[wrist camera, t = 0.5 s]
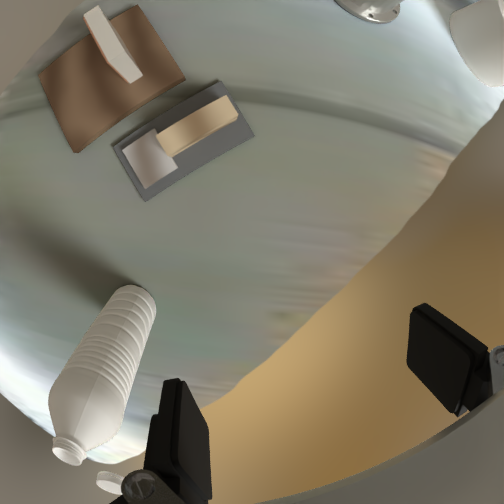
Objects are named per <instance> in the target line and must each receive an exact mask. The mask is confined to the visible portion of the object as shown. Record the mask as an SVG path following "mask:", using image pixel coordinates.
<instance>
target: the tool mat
mask: <svg viewBox="0 0 504 504" xmlns="http://www.w3.org/2000/svg"><path fill="white" fill-rule="evenodd" d="M225 95H227V97H228V98H229V100H230V102H231V103H232V105H233V106H234V108H235V110H236V111H237V113H238V117H237V119H236V121H234V122H232V123H230V124H229V125H227V126H225V127H223V128H221V129H219V130H218V131H216V132H214V133H212V134H210V135H209V136H207V137H205V138H203V139H202V140H200V141H198V142H197V143H195V144H193V145H192V146H190V147H188V148H187V149H185V150H183V151H182V152H180V153H178V154H177V155H175V156H174V157H172V158H173V160H174V161H175V163H176V165H177V166H178V168H177V169H176V170H174V171H172V172H171V173H169V174H168V175H166V176H165V177H163V178H162V179H160V180H158V181H157V182H155V183H154V184H152V185H151V186H149V187H148V188H146V189H145V188H144V187H143V185H142V183H141V182H140V180H139V178H138V177H137V175H136V173H135V172H134V170H133V168H132V166H131V165H130V163H129V161H128V159H127V158H126V156H125V154H124V153H123V151H122V150H123V149H125V148H126V147H127V146H129V145H130V144H132V143H133V142H135V141H136V140H137V139H139V138H140V137H142V136H143V135H145V134H146V133H148V132H149V131H151V130H153V129H156V131H157V133H158V134H159V133H160V132H162V131H163V130H165V129H167V128H168V127H170V126H172V125H173V124H175V123H176V122H178V121H180V120H181V119H183V118H185V117H187V116H188V115H190V114H192V113H194V112H195V111H197V110H199V109H201V108H202V107H204V106H206V105H208V104H210V103H212V102H214V101H215V100H217V99H219V98H221V97H223V96H225ZM254 136H255V135H254V134H253V132H252V130H251V128H250V127H249V125H248V123H247V122H246V120H245V118H244V117H243V115H242V113H241V112H240V110H239V108H238V107H237V105H236V103H235V102H234V100H233V99H232V97H231V95H230V94H229V92H228V91H227V89H226V87H225V86H224V84H223V83H222V81H220V82H218V83H216V84H214V85H212V86H210V87H208V88H206V89H204V90H203V91H201V92H199V93H197V94H195V95H193V96H192V97H190V98H188V99H186V100H184V101H183V102H181V103H179V104H178V105H176V106H174V107H172V108H171V109H169V110H167V111H166V112H164V113H163V114H161V115H159V116H158V117H156V118H155V119H153V120H151V121H150V122H148V123H147V124H145V125H144V126H142V127H141V128H139V129H138V130H136V131H135V132H133V133H132V134H130V135H129V136H128V137H126V138H125V139H123V140H122V141H121V142H119V143H118V144H116V145H115V146H114V147H113V148H114V150H115V152H116V154H117V155H118V157H119V159H120V161H121V162H122V164H123V166H124V168H125V169H126V171H127V173H128V174H129V176H130V178H131V180H132V181H133V183H134V185H135V186H136V188H137V190H138V191H139V193H140V195H141V196H142V198H143V200H144V201H145V202H146V201H147V200H149V199H150V198H152V197H153V196H155V195H156V194H158V193H159V192H161V191H163V190H164V189H166V188H167V187H169V186H170V185H172V184H173V183H175V182H177V181H178V180H180V179H181V178H183V177H185V176H186V175H188V174H189V173H191V172H193V171H194V170H196V169H198V168H199V167H201V166H203V165H204V164H206V163H208V162H209V161H211V160H213V159H214V158H216V157H218V156H220V155H221V154H223V153H225V152H227V151H228V150H230V149H232V148H234V147H236V146H237V145H239V144H241V143H243V142H245V141H247V140H248V139H250V138H252V137H254Z"/></svg>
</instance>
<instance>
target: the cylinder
mask: <svg viewBox="0 0 504 504" xmlns="http://www.w3.org/2000/svg"><path fill="white" fill-rule="evenodd" d="M449 24H450V31H451V34H452V38H453V41H454V43H455V45H456V48H457V50H458V52H459V54H460V55H461V57H462V59H463V61H464V63H465V64H466V65H467V67H468V68H469V70H470V71H471V72H472V73H473V75H474V76H475V77H476V78H477V79H478V80H479V81H480V82H482V83H483V84H484V85H486V86H489V87H499V86H504V0H481V1H478V2H476V3H473V4H471V5H469V6H466V7H464V8H462V9H459V10H457V11H455V12H453V13H452V14H451V16H450V21H449Z"/></svg>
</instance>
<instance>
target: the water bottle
mask: <svg viewBox="0 0 504 504" xmlns="http://www.w3.org/2000/svg"><path fill="white" fill-rule="evenodd" d="M155 315H156V305H155V302H154V300H153V298H152V297H151V296H150V294H149V293H148V292H147V291H146V290H144V289H143V288H141V287H137V286H135V285H126V286H122V287H120V288H119V289H117V290H116V291H115V292H114V294H113V295H112V296H111V298H110V299H109V301H108V302H107V303H106V305H105V307H104V308H103V309H102V310H101V312H100V314H99V315H98V316H97V317H96V319H95V321H94V322H93V323H92V325H91V326H90V328H89V329H88V331H87V332H86V333H85V335H84V336H83V338H82V340H81V342H80V343H79V345H78V346H77V348H76V349H75V351H74V353H73V354H72V355H71V357H70V359H69V360H68V362H67V363H66V365H65V367H64V368H63V370H62V371H61V374H60V375H59V376H58V378H57V379H56V381H55V382H54V384H53V386H52V388H51V390H50V393H49V399H48V405H49V411H50V415H51V419H52V423H53V426H54V430H55V433H56V437H54V438H53V443H54V445H53V447H52V450H53V452H54V454H55V455H56V456H57V457H58V458H59V459H61V460H62V461H64V462H66V463H68V464H70V465H75V466H78V465H80V464H81V463H82V460H83V459H85V458H86V457H87V454H86V452H87V451H89V450H92V449H94V448H96V447H98V446H100V445H102V444H104V443H106V442H108V441H109V440H111V439H112V438H113V437H114V436H115V435H116V434H117V432H118V431H119V429H120V427H121V424H122V421H123V416H124V412H125V408H126V405H127V401H128V397H129V394H130V391H131V388H132V384H133V381H134V378H135V374H136V372H137V369H138V366H139V363H140V359H141V357H142V354H143V350H144V348H145V344H146V341H147V339H148V335H149V332H150V330H151V327H152V324H153V322H154V319H155ZM107 474H109V475H107ZM111 475H113V476H111ZM114 476H116V477H114ZM117 477H118V478H117ZM119 478H120V479H119ZM121 479H122V480H121ZM123 479H124V478H123V477H122V476H120V475H118V474H115V473H112V472H108V471H100V472H99V473H98V476H97V480H96V483H97V485H98V486H99V487H100V488H102V489H104V490H106V491H108V492H111V493H114V494H122V493H121V483H122V481H123Z"/></svg>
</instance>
